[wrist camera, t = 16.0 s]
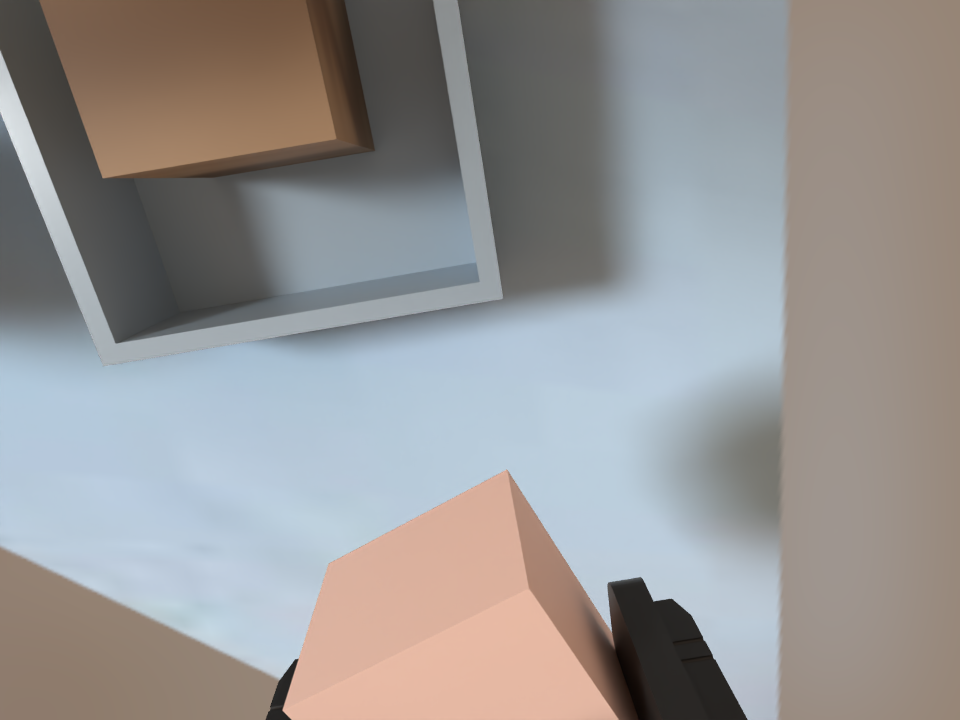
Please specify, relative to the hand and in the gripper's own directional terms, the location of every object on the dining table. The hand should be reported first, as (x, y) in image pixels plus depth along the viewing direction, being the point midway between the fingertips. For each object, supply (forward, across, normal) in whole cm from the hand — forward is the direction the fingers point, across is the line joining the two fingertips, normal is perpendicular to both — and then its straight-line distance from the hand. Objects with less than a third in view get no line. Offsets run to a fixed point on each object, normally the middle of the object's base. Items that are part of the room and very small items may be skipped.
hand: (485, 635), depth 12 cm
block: (+10, +4, -13) cm, 17 cm away
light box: (+1, 0, 0) cm, 1 cm away
